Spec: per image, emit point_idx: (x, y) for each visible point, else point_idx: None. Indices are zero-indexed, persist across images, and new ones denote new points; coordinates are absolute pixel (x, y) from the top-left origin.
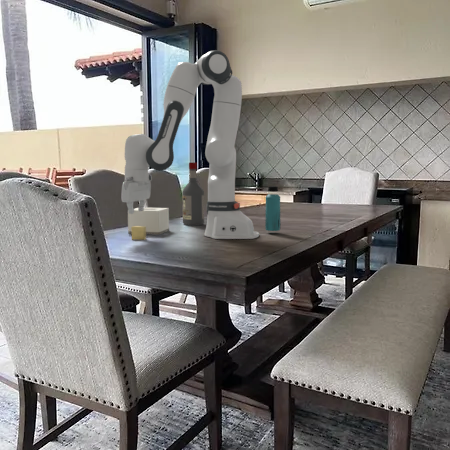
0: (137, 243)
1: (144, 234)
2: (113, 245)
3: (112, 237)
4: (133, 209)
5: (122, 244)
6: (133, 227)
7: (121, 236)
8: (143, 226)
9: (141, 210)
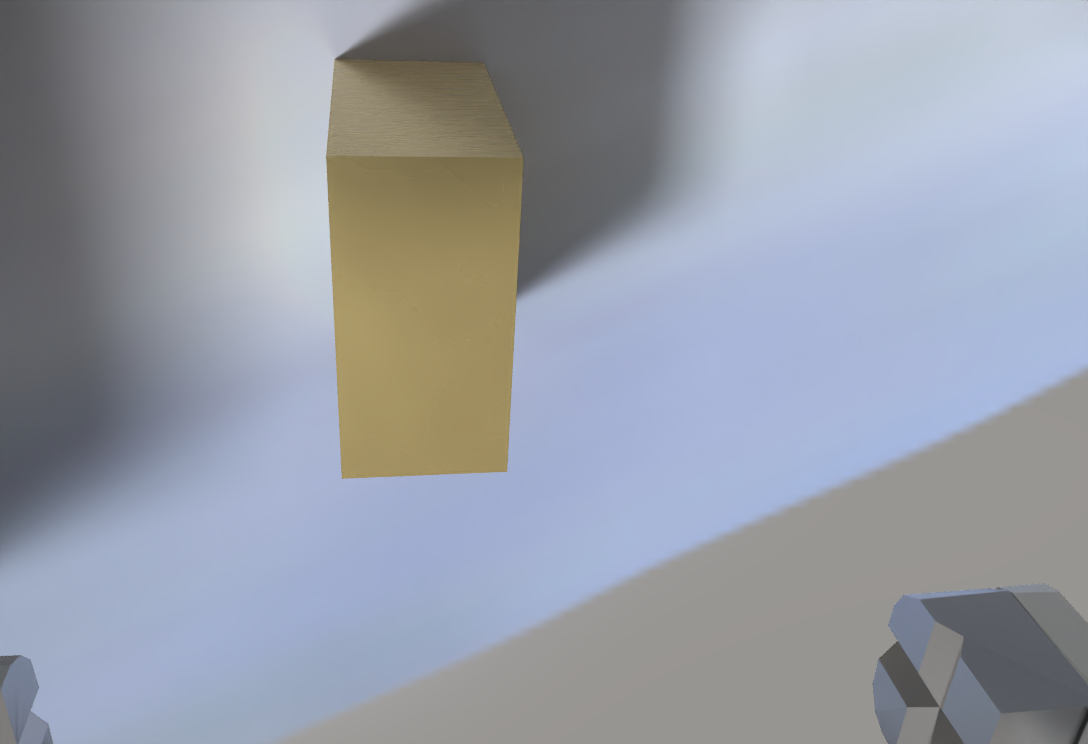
0: (930, 21)
1: (434, 92)
2: (1084, 350)
3: (350, 678)
4: (1067, 689)
5: (1011, 255)
6: (506, 415)
7: (205, 610)
8: (358, 216)
9: (24, 693)
